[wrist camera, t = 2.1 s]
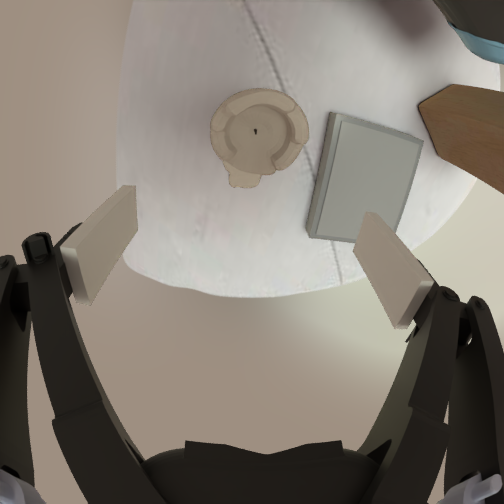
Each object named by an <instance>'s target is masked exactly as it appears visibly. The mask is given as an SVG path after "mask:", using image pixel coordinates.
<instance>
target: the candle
mask: <svg viewBox="0 0 504 504" xmlns="http://www.w3.org/2000/svg"><path fill="white" fill-rule="evenodd" d="M210 128H211V134H210V137H211V144H212V146H213V149H214V151H215V153H216V154H217V155H218V157H219V158H220V159H221V160H223V164H224V166H225V168H226V170H227V171H228V172H229V173H230V174H229V184H230V185H231V186H232V187H234V188H235V187H242V188H252V187H255V186H257V185H258V183H259V181H260V178H261V175H271V174H273V173H275V171H276V170H284V169H285V168H287V167H288V166H289V165H290V164H291V163H292V162H293V161H294V160H295V159H296V157H297V156H298V154H299V153H300V151H301V149H302V147H303V145H304V144H306V142H307V141H308V139H309V127H308V122H307V119H306V116H305V114H304V113H303V111H302V109H301V108H300V107H299V106H298V104H297V103H296V102H295V101H294V99H293V98H291V97H290V96H288V95H286V94H284V93H282V92H280V91H277V90H272V89H263V88H256V89H248V90H244V91H241V92H239V93H236V94H234V95H233V96H231V97H229V98H228V99H227V100H226V101H224V102H223V103H222V104H221V105H220V107H219V108H218V109H217V110H216V112H215V114H214V115H213V118H212V120H211V123H210Z"/></svg>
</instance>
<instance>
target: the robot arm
mask: <svg viewBox="0 0 504 504" xmlns="http://www.w3.org/2000/svg"><path fill="white" fill-rule="evenodd" d="M433 1H434V3H435V4H436V5H437V7H438V8H439V9H440V11H441V12H442V13H443V15H444V16H445V18H446V19H447V22H448V24H449V25H450V26H451V27H452V28H453V29H454V30H455V31H456V33H457V34H458V35H459V37H460V38H461V40H462V41H463V43H464V44H465V46H466V47H467V48H468V49H469V50H470V51H471V52H472V53H474V54H475V55H477V56H479V57H480V58H482V59H484V60H487V61H490V62H494V63H498V64H504V0H433ZM137 231H138V223H137V207H136V186H126V185H123V186H122V187H121V188H120V189H119V190H118V191H116V192H115V193H114V194H113V195H112V196H111V197H110V198H109V199H108V200H106V201H105V202H104V203H103V204H102V205H101V206H100V207H99V208H98V209H97V210H96V211H95V212H93V213H92V214H91V215H90V216H89V217H88V218H87V219H86V220H85V221H84V222H83V223H79V224H78V225H76V226H74V227H72V228H71V229H70V230H69V232H67V234H65V235H64V236H63V238H62V239H61V240H60V241H59V242H58V243H57V244H56V245H55V246H54V247H53V245H52V241H51V236H50V235H49V233H46V232H40V233H35V234H33V235H31V236H29V237H28V238H26V239H25V240H24V241H23V243H22V248H23V252H24V255H25V258H26V261H27V264H21V265H17V264H16V261H15V258H14V257H13V256H12V255H5V256H1V257H0V504H46V503H45V501H44V500H43V499H42V498H41V496H40V494H39V493H38V492H37V490H36V489H35V488H34V485H35V484H34V468H33V460H32V453H31V445H30V437H29V426H28V410H27V367H28V366H27V365H28V350H29V338H30V330H31V321H32V323H33V330H34V336H35V341H36V346H37V351H38V356H39V360H40V365H41V369H42V373H43V377H44V381H45V384H46V388H47V391H48V394H49V398H50V401H51V404H52V407H53V410H54V413H55V419H53V420H52V426H53V429H54V432H55V435H56V438H57V440H58V443H59V445H60V448H61V450H62V452H63V455H64V457H65V459H66V461H67V464H68V466H69V468H70V470H71V472H72V474H73V476H74V478H75V480H76V482H77V484H78V486H79V488H80V489H81V491H82V493H83V495H84V497H85V498H86V500H87V502H88V504H428V503H427V500H428V498H429V496H430V494H431V491H432V489H433V486H434V484H435V481H436V478H437V476H438V473H439V470H440V467H441V464H442V461H443V458H444V455H445V452H446V448H447V454H446V463H445V475H444V499H442V500H440V501H438V503H437V504H504V352H503V348H502V345H501V342H500V338H499V335H498V332H497V329H496V326H495V323H494V320H493V317H492V314H491V312H490V309H489V307H488V305H487V304H486V303H485V301H484V300H483V299H482V298H479V297H477V296H472V297H471V298H470V300H469V301H468V303H467V304H466V303H463V302H460V299H459V297H458V295H457V294H456V293H455V292H454V291H453V290H451V289H450V288H448V287H445V286H439V285H438V284H437V282H436V281H435V280H434V279H433V277H432V276H431V274H430V273H428V271H427V269H426V268H424V266H423V264H422V263H421V262H420V261H419V260H418V259H416V258H415V257H414V255H413V254H412V253H411V252H410V250H409V249H408V248H407V247H406V246H405V244H404V243H403V242H402V241H401V240H400V239H399V237H398V236H397V235H396V234H395V233H394V232H393V231H392V229H391V228H390V227H389V226H388V225H387V224H386V223H385V222H384V221H383V219H382V218H381V217H380V216H379V215H378V214H377V213H373V212H368V211H366V212H365V215H364V219H363V222H362V225H361V228H360V231H359V234H358V237H357V240H356V243H355V246H354V249H353V252H354V254H355V256H356V258H357V259H358V261H359V263H360V265H361V266H362V268H363V270H364V272H365V274H366V275H367V277H368V279H369V281H370V283H371V284H372V286H373V288H374V290H375V292H376V293H377V296H378V298H379V299H380V301H381V303H382V305H383V307H384V309H385V311H386V313H387V315H388V317H389V319H390V321H391V323H392V325H393V327H394V329H407V328H408V326H409V325H410V323H411V321H412V320H413V319H414V321H415V323H416V326H415V328H414V329H413V331H412V332H411V334H410V335H409V337H408V338H407V340H406V341H405V342H408V341H409V343H408V346H407V349H406V352H405V354H404V357H403V360H402V362H401V365H400V368H399V370H398V373H397V375H396V378H395V380H394V382H393V385H392V387H391V389H390V392H389V394H388V396H387V399H386V401H385V403H384V405H383V407H382V409H381V411H380V413H379V415H378V417H377V419H376V421H375V423H374V425H373V427H372V429H371V431H370V433H369V435H368V436H367V438H366V440H365V442H364V443H363V444H362V446H361V447H360V448H359V449H358V450H357V451H353V450H348V449H343V447H342V441H341V440H339V441H331V442H322V443H311V444H305V445H301V446H298V447H295V448H291V449H288V450H284V451H281V452H277V453H273V454H261V453H256V452H252V451H248V450H244V449H240V448H237V447H233V446H229V445H226V444H213V443H212V444H211V443H202V442H193V441H185V448H182V449H175V450H169V451H166V452H163V453H159V454H157V455H155V456H153V457H151V458H149V459H147V460H145V459H144V458H143V456H142V455H141V453H140V452H139V450H138V449H137V447H136V446H135V445H134V443H133V442H132V440H131V439H130V437H129V435H128V434H127V432H126V430H125V429H124V427H123V425H122V423H121V422H120V420H119V418H118V416H117V414H116V413H115V411H114V409H113V407H112V405H111V403H110V401H109V399H108V397H107V395H106V393H105V391H104V389H103V387H102V385H101V383H100V380H99V378H98V376H97V374H96V371H95V369H94V367H93V365H92V362H91V360H90V357H89V355H88V352H87V350H86V347H85V345H84V342H83V340H82V337H81V334H80V331H79V328H78V325H77V323H76V319H75V317H74V314H73V310H72V307H71V304H70V301H69V297H70V295H71V294H72V292H73V294H74V297H75V300H76V303H81V304H85V305H90V306H91V304H92V303H93V301H94V299H95V297H96V296H97V294H98V292H99V290H100V289H101V287H102V285H103V284H104V282H105V280H106V279H107V277H108V275H109V274H110V272H111V270H112V269H113V267H114V265H115V264H116V262H117V261H118V259H119V258H120V256H121V255H122V253H123V252H124V250H125V248H126V247H127V245H128V244H129V242H130V241H131V239H132V238H133V236H134V235H135V234H136V232H137ZM471 338H472V339H471ZM470 339H471V342H470V343H469V345H468V342H469V341H470ZM448 401H449V416H448V424H446V423H444V418H445V414H446V409H447V405H448Z"/></svg>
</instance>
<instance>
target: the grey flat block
mask: <svg viewBox="0 0 504 504" xmlns="http://www.w3.org/2000/svg"><path fill="white" fill-rule="evenodd" d="M423 142H424V141H423V140H420V139H418V138H415V137H413V136H410V135H407V134H404V133H402V132H399V131H396V130H393V129H390V128H387V127H384V126H380V125H377V124H374V123H370V122H367V121H364V120H360V119H356V118H353V117H349V116H345V115H341V114H337V113H333V112H330V115H329V120H328V126H327V131H326V136H325V141H324V146H323V151H322V156H321V161H320V166H319V171H318V175H317V180H316V185H315V189H314V194H313V198H312V202H311V207H310V211H309V215H308V220H307V224H306V231H307V233H308V236H309V238H316V239H324V240H333V241H341V242H349V243H356V240H357V237H358V234H359V231H360V228H361V225H362V222H363V219H364V215H365V212H366V211H368V212H373V213H377V214H378V215H379V216H380V217H381V218H382V219H383V221H384V222H385V223H386V224H387V225H388V226H389V227H390V228H391V229H392V231H393V232H394V233H396V230H397V227H398V225H399V222H400V219H401V216H402V213H403V210H404V207H405V204H406V201H407V198H408V195H409V192H410V189H411V186H412V182H413V179H414V176H415V172H416V169H417V165H418V161H419V158H420V154H421V150H422V146H423Z"/></svg>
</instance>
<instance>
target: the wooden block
mask: <svg viewBox="0 0 504 504" xmlns="http://www.w3.org/2000/svg"><path fill="white" fill-rule="evenodd" d="M419 110H420V113H421V115H422V117H423V119H424V121H425V124H426V126H427V128H428V131H429V133H430V135H431V138H432V140H433V143H434V145H435V148H436V151H437V153H438V155H439V156H440V157H441V158H442V159H444V160H446V161H448V162H450V163H451V164H453V165H455V166H457V167H459V168H461V169H463V170H465V171H466V172H468V173H470V174H472V175H473V176H475V177H477V178H479V179H480V180H482V181H484V182H485V183H487V184H489V185H490V186H492V187H493V188H495V189H496V190H498V191H500V192H501V193H503V194H504V92H500V91H495V90H490V89H484V88H479V87H472V86H465V85H458V84H453V85H451V86H449V87H448V88H446V89H444V90H442V91H441V92H439V93H437V94H436V95H434V96H432V97H431V98H429V99H427V100H426V101H424V102H422V103H421V104H420V105H419Z"/></svg>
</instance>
